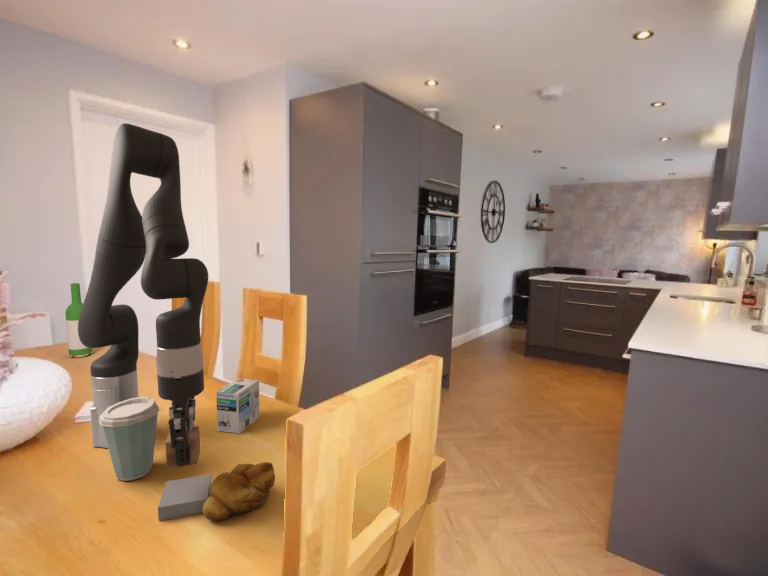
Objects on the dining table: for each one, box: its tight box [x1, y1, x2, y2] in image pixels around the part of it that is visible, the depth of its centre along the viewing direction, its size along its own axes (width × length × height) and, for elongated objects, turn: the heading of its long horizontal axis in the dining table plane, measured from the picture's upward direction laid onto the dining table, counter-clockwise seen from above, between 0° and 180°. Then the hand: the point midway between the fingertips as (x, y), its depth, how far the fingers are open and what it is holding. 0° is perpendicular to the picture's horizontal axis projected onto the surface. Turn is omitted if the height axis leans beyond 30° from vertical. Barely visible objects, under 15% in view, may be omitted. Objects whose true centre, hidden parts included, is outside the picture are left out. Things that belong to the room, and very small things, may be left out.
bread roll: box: [202, 461, 276, 521], centre depth 75 cm, size 13×10×8 cm
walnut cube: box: [165, 425, 201, 470], centre depth 74 cm, size 5×5×5 cm
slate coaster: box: [157, 474, 212, 521], centre depth 76 cm, size 8×8×2 cm
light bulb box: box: [215, 378, 261, 434], centre depth 107 cm, size 11×7×11 cm, turn 168°
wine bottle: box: [65, 282, 93, 356], centre depth 163 cm, size 8×8×30 cm
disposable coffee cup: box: [99, 396, 160, 482], centre depth 84 cm, size 11×11×15 cm
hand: (185, 455), depth 75 cm, fingers closed on walnut cube, 5 cm apart
